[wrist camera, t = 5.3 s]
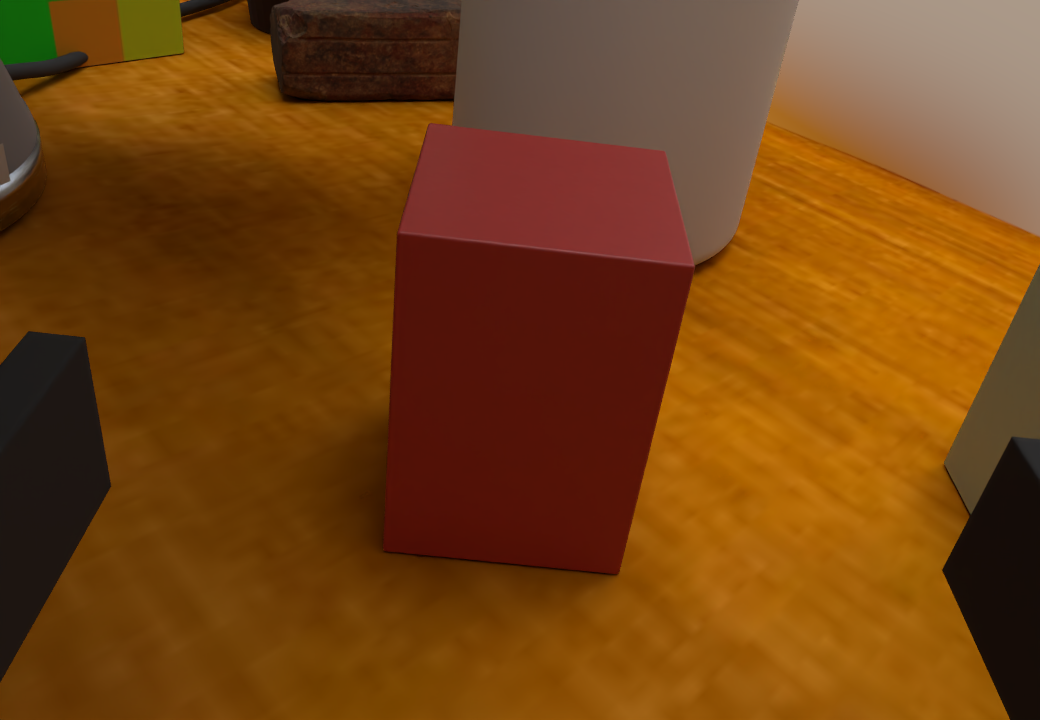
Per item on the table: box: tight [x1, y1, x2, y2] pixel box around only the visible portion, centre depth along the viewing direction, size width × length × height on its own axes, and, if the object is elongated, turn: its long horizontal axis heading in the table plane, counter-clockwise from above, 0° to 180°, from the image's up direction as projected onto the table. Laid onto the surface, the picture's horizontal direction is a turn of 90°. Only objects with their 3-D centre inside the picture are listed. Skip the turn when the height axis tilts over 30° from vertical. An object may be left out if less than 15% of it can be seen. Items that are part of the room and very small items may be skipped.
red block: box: [383, 123, 695, 574], centre depth 24 cm, size 6×6×9 cm
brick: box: [270, 0, 462, 101], centre depth 50 cm, size 11×4×5 cm, turn 109°
